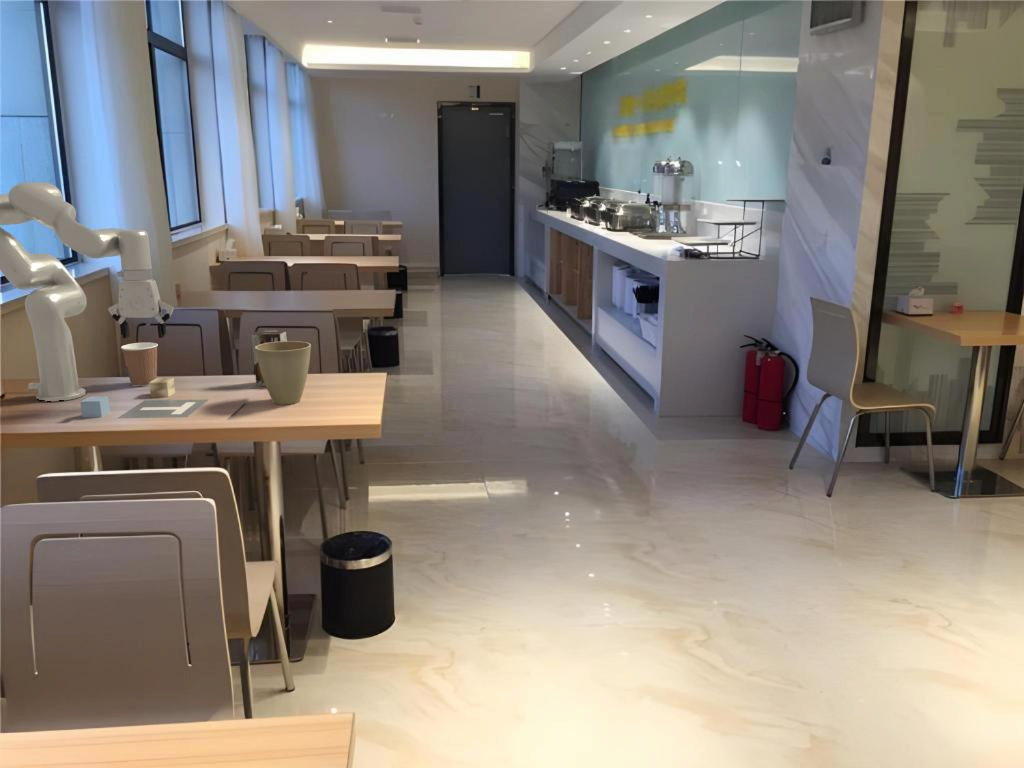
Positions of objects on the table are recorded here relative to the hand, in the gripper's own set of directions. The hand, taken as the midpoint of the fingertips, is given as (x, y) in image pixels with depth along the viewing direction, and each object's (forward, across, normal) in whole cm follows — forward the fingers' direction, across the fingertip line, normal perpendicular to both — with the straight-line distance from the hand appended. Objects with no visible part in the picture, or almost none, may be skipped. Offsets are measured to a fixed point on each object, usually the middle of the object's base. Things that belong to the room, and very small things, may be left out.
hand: (144, 337), depth 231 cm
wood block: (+18, +2, +4) cm, 19 cm away
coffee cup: (+18, -9, +20) cm, 29 cm away
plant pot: (+18, +39, -5) cm, 43 cm away
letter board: (+18, +8, -12) cm, 23 cm away
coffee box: (+18, +31, +17) cm, 39 cm away
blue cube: (+18, -8, -16) cm, 26 cm away
